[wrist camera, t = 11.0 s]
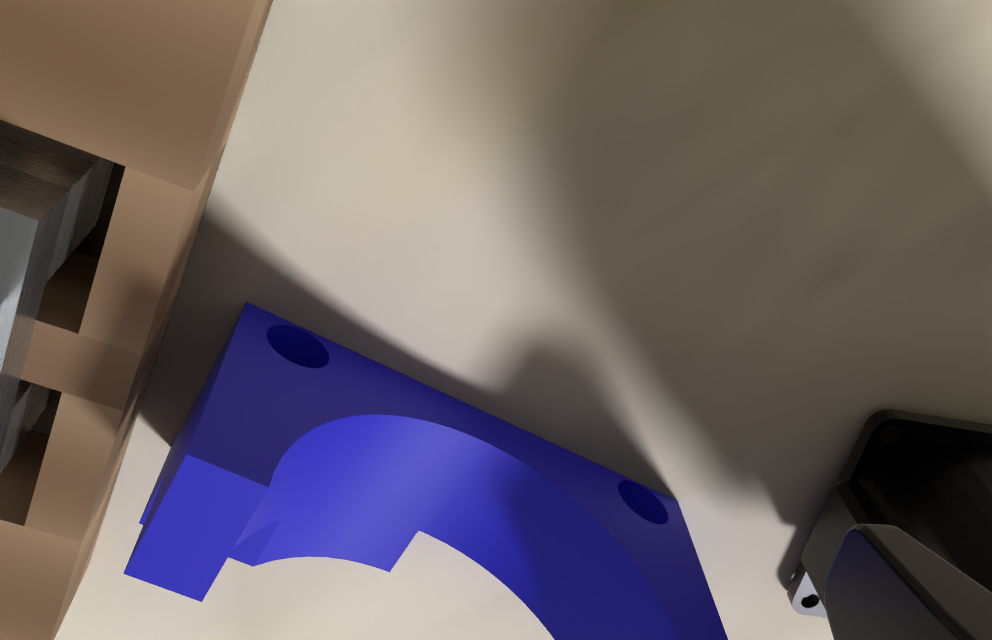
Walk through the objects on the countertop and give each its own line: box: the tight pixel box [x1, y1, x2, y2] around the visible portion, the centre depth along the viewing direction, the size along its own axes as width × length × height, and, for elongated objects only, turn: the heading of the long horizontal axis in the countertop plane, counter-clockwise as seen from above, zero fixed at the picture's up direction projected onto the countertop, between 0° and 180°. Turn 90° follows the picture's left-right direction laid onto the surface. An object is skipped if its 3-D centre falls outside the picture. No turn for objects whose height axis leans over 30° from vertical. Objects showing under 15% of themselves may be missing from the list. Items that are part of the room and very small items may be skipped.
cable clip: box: [124, 302, 728, 640], centre depth 21 cm, size 12×4×6 cm, turn 60°
